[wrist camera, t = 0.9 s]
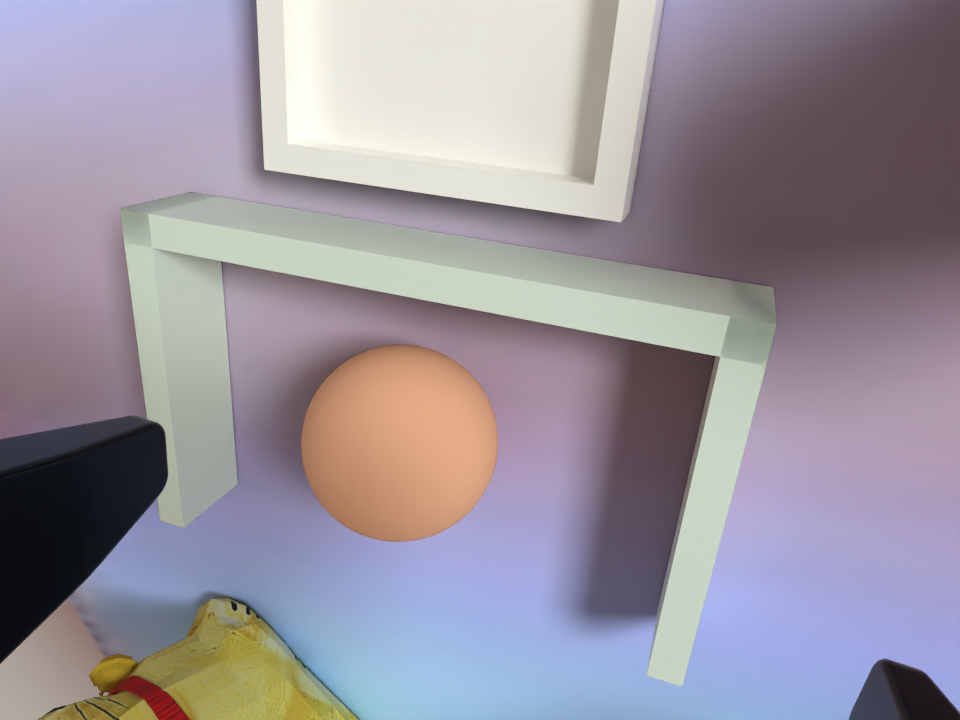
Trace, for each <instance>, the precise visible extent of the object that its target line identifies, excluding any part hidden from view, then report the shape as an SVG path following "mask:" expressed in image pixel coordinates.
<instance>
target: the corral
mask: <svg viewBox="0 0 960 720" xmlns="http://www.w3.org/2000/svg"><path fill="white" fill-rule="evenodd" d="M120 214H121V222H122V229H123V237H124V245H125V253H126V260H127V268H128V276H129V283H130V291H131V299H132V306H133V314H134V322H135V330H136V337H137V345H138V353H139V360H140V368H141V376H142V383H143V391H144V399H145V407H146V414H147V419H148V420H151V421H154V422H157V423H159V424H160V425H162V427H163V429H164V431H165V435H166V447H167V461H168V479H167V483H166V485H165V487H164V489H163V491H162V492H161V494H160V495H159V496H158V497H157V499H158V507H159V514H160V521H163V522H166V523H169V524H172V525H175V526H178V527H182V528H185V527H186V526H187V525H188V524H190V523H191V522H192V521H193V520H195V519H196V518H197V517H198V516H199V515H201V514H202V513H203V512H204V511H206V510H207V509H208V508H209V507H210V506H212V505H213V504H214V503H215V502H216V501H218V500H219V499H220V498H221V497H223V496H224V495H225V494H226V493H227V492H229V491H230V490H231V489H232V488H233V487H235V486H236V485H237V484H238V480H237V466H236V453H235V439H234V426H233V412H232V399H231V386H230V372H229V359H228V345H227V332H226V318H225V305H224V291H223V278H222V264H221V261H223V262H228V263H234V264H239V265H244V266H249V267H254V268H260V269H265V270H270V271H275V272H280V273H286V274H291V275H296V276H301V277H306V278H312V279H317V280H322V281H327V282H332V283H338V284H343V285H348V286H353V287H359V288H364V289H369V290H374V291H379V292H385V293H390V294H395V295H400V296H405V297H411V298H416V299H421V300H426V301H431V302H437V303H442V304H447V305H452V306H458V307H463V308H468V309H473V310H478V311H484V312H489V313H494V314H499V315H504V316H510V317H515V318H520V319H525V320H530V321H536V322H541V323H546V324H551V325H557V326H562V327H567V328H572V329H577V330H583V331H588V332H593V333H598V334H603V335H609V336H614V337H619V338H624V339H629V340H635V341H640V342H645V343H650V344H655V345H661V346H666V347H671V348H676V349H682V350H687V351H692V352H697V353H702V354H708V355H713V356H715V361H714V365H713V369H712V374H711V378H710V382H709V387H708V391H707V396H706V400H705V404H704V409H703V413H702V417H701V422H700V426H699V431H698V435H697V439H696V444H695V448H694V452H693V457H692V461H691V466H690V470H689V474H688V479H687V483H686V487H685V492H684V496H683V501H682V505H681V509H680V514H679V518H678V522H677V527H676V531H675V536H674V540H673V544H672V549H671V553H670V557H669V562H668V566H667V571H666V575H665V579H664V584H663V588H662V592H661V597H660V601H659V605H658V611H657V617H656V623H655V629H654V635H653V641H652V646H651V652H650V658H649V664H648V670H647V676H650V677H653V678H656V679H660V680H663V681H666V682H669V683H672V684H675V685H679V686H682V685H683V681H684V678H685V674H686V670H687V666H688V662H689V659H690V655H691V651H692V647H693V643H694V639H695V636H696V632H697V628H698V624H699V620H700V616H701V613H702V609H703V605H704V601H705V597H706V594H707V590H708V586H709V582H710V578H711V574H712V571H713V567H714V563H715V559H716V555H717V552H718V548H719V544H720V540H721V536H722V532H723V529H724V525H725V521H726V517H727V513H728V509H729V506H730V502H731V498H732V494H733V490H734V487H735V483H736V479H737V475H738V471H739V467H740V464H741V460H742V456H743V452H744V448H745V445H746V441H747V437H748V433H749V429H750V425H751V422H752V418H753V414H754V410H755V406H756V402H757V399H758V395H759V391H760V387H761V383H762V380H763V376H764V372H765V368H766V364H767V360H768V357H769V353H770V349H771V345H772V341H773V338H774V334H775V330H776V326H777V321H776V311H775V301H774V291H773V287H769V286H762V285H756V284H750V283H744V282H738V281H732V280H726V279H719V278H713V277H707V276H701V275H695V274H689V273H683V272H677V271H670V270H664V269H658V268H652V267H646V266H640V265H634V264H627V263H621V262H615V261H609V260H603V259H597V258H591V257H585V256H578V255H572V254H566V253H560V252H554V251H548V250H542V249H536V248H529V247H523V246H517V245H511V244H505V243H499V242H493V241H486V240H480V239H474V238H468V237H462V236H456V235H450V234H444V233H437V232H431V231H425V230H419V229H413V228H407V227H401V226H394V225H388V224H382V223H376V222H370V221H364V220H358V219H352V218H345V217H339V216H333V215H327V214H321V213H315V212H309V211H303V210H296V209H290V208H284V207H278V206H272V205H266V204H260V203H253V202H247V201H241V200H235V199H229V198H223V197H217V196H211V195H204V194H198V193H192V192H190V193H185V194H181V195H177V196H172V197H168V198H164V199H159V200H155V201H151V202H146V203H142V204H138V205H134V206H129V207H125V208H121V209H120Z"/></svg>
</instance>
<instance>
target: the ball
mask: <svg viewBox="0 0 960 720" xmlns="http://www.w3.org/2000/svg"><path fill="white" fill-rule="evenodd" d="M301 451H302V461H303V466H304V470H305V473H306V476H307V479H308V482H309V484H310V486H311V488H312V490H313V492H314V494H315V496H316V497H317V499H318V500H319V502H320V503H321V504H322V506H323V507H324V508H325V509H326V510H327V511H328V512H329V513H330V514H331V515H332V516H333V517H334V518H335V519H336V520H337V521H339V522H340V523H341V524H343V525H344V526H346V527H347V528H349V529H351V530H353V531H355V532H357V533H359V534H361V535H364V536H367V537H370V538H374V539H378V540H382V541H390V542H405V541H414V540H419V539H423V538H426V537H430V536H433V535H436V534H438V533H440V532H442V531H444V530H446V529H448V528H450V527H451V526H453V525H454V524H456V523H457V522H459V521H460V520H461V519H462V518H463V517H464V516H466V515H467V514H468V513H469V512H470V511H471V510H472V509H473V507H474V506H475V505H476V503H477V502H478V501H479V500H480V498H481V497H482V496H483V494H484V492H485V490H486V488H487V486H488V484H489V482H490V480H491V478H492V475H493V472H494V469H495V464H496V459H497V453H498V432H497V424H496V420H495V416H494V412H493V410H492V407H491V405H490V402H489V400H488V398H487V396H486V394H485V392H484V390H483V389H482V387H481V386H480V385H479V383H478V382H477V381H476V379H475V378H474V377H473V376H472V375H471V374H470V373H469V372H468V371H467V370H466V369H465V368H464V367H463V366H461V365H460V364H458V363H457V362H456V361H454V360H453V359H451V358H449V357H447V356H446V355H444V354H441V353H439V352H437V351H434V350H431V349H427V348H423V347H420V346H413V345H389V346H382V347H378V348H374V349H371V350H368V351H365V352H362V353H360V354H358V355H356V356H354V357H352V358H351V359H349V360H347V361H346V362H344V363H343V364H341V365H340V366H339V367H338V368H337V369H336V370H334V371H333V372H332V373H331V374H330V375H329V376H328V377H327V378H326V379H325V381H324V382H323V383H322V385H321V386H320V387H319V389H318V390H317V391H316V393H315V395H314V397H313V399H312V401H311V403H310V405H309V407H308V410H307V413H306V416H305V419H304V424H303V429H302V435H301Z"/></svg>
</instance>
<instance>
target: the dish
mask: <svg viewBox="0 0 960 720" xmlns="http://www.w3.org/2000/svg"><path fill="white" fill-rule="evenodd" d="M256 2H257V24H258V45H259V67H260V88H261V110H262V131H263V153H264V170H270V171H277V172H284V173H290V174H297V175H304V176H311V177H317V178H324V179H331V180H338V181H344V182H351V183H358V184H365V185H371V186H378V187H385V188H392V189H399V190H405V191H412V192H419V193H426V194H432V195H439V196H446V197H453V198H459V199H466V200H473V201H480V202H487V203H493V204H500V205H507V206H514V207H520V208H527V209H534V210H541V211H547V212H554V213H561V214H568V215H574V216H581V217H588V218H595V219H602V220H608V221H615V222H622V221H623V220H624V218H625V217H626V216H627V215H628V214H629V212H630V210H631V204H632V198H633V191H634V185H635V179H636V173H637V167H638V160H639V154H640V148H641V142H642V135H643V129H644V123H645V117H646V111H647V104H648V98H649V92H650V86H651V80H652V73H653V67H654V61H655V55H656V49H657V42H658V36H659V30H660V24H661V18H662V11H663V5H664V0H256Z"/></svg>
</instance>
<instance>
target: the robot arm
mask: <svg viewBox="0 0 960 720" xmlns="http://www.w3.org/2000/svg"><path fill="white" fill-rule="evenodd" d="M167 479H168V461H167V447H166V435H165V431H164V429H163V427H162V425H160V424H159V423H157V422H154V421H151V420H148V419H145V418H142V417H139V416H127V417H121V418H116V419H110V420H105V421H99V422H94V423H88V424H83V425H77V426H72V427H66V428H60V429H55V430H49V431H44V432H38V433H33V434H27V435H22V436H16V437H11V438H5V439H0V664H1V662H2V661H4V660H5V659H6V658H7V657H8V656H9V655H10V654H11V653H12V652H13V651H14V650H15V649H16V648H17V647H18V646H19V645H20V644H21V643H22V642H23V641H24V640H25V639H26V638H27V637H28V636H29V635H30V634H31V633H32V632H33V631H34V630H35V629H37V628H38V627H39V625H41V624H42V623H43V622H44V621H45V620H46V619H47V618H48V617H49V616H50V615H51V614H52V613H53V612H54V611H55V610H56V609H57V608H58V607H59V606H60V605H61V604H62V603H63V602H64V601H65V600H66V599H67V598H68V597H69V596H70V595H71V594H72V593H74V592H75V590H76V589H77V588H78V587H79V586H80V585H81V584H82V583H83V582H84V581H85V580H86V579H87V578H88V577H89V576H90V575H91V574H92V573H93V572H94V570H95V569H96V568H97V567H98V566H99V565H100V564H101V563H102V561H103V560H104V559H105V558H106V557H107V556H108V554H109V553H110V552H111V551H112V550H113V549H114V547H115V546H116V545H117V544H118V543H119V542H120V540H121V539H122V538H123V537H124V536H125V535H126V533H127V532H128V531H129V530H130V529H131V528H132V526H133V525H134V524H135V523H136V522H137V521H138V519H139V518H140V517H141V516H142V515H143V514H144V512H145V511H146V510H147V509H148V508H149V507H150V505H151V504H152V503H153V502H154V501H155V500H156V498H157V497H158V496H159V495H160V494H161V492H162V491H163V489H164V487H165V485H166V483H167ZM849 720H960V712H959V711H958V710H957V709H956V708H955V706H954V705H953V704H952V703H951V702H950V701H949V699H948V698H947V697H946V696H945V695H944V694H943V692H942V691H941V690H940V689H939V688H938V687H937V685H936V684H935V683H934V682H933V681H932V680H931V678H930V677H929V676H928V675H927V674H926V673H924V672H923V671H921V670H919V669H916V668H913V667H910V666H907V665H904V664H901V663H898V662H895V661H891V660H888V659H882V660H878V661H877V662H876V664H875V665H874V666H873V667H872V669H871V671H870V673H869V676H868V678H867V680H866V682H865V684H864V686H863V688H862V690H861V692H860V694H859V697H858V699H857V701H856V703H855V705H854V707H853V709H852V711H851V714H850V717H849Z"/></svg>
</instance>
